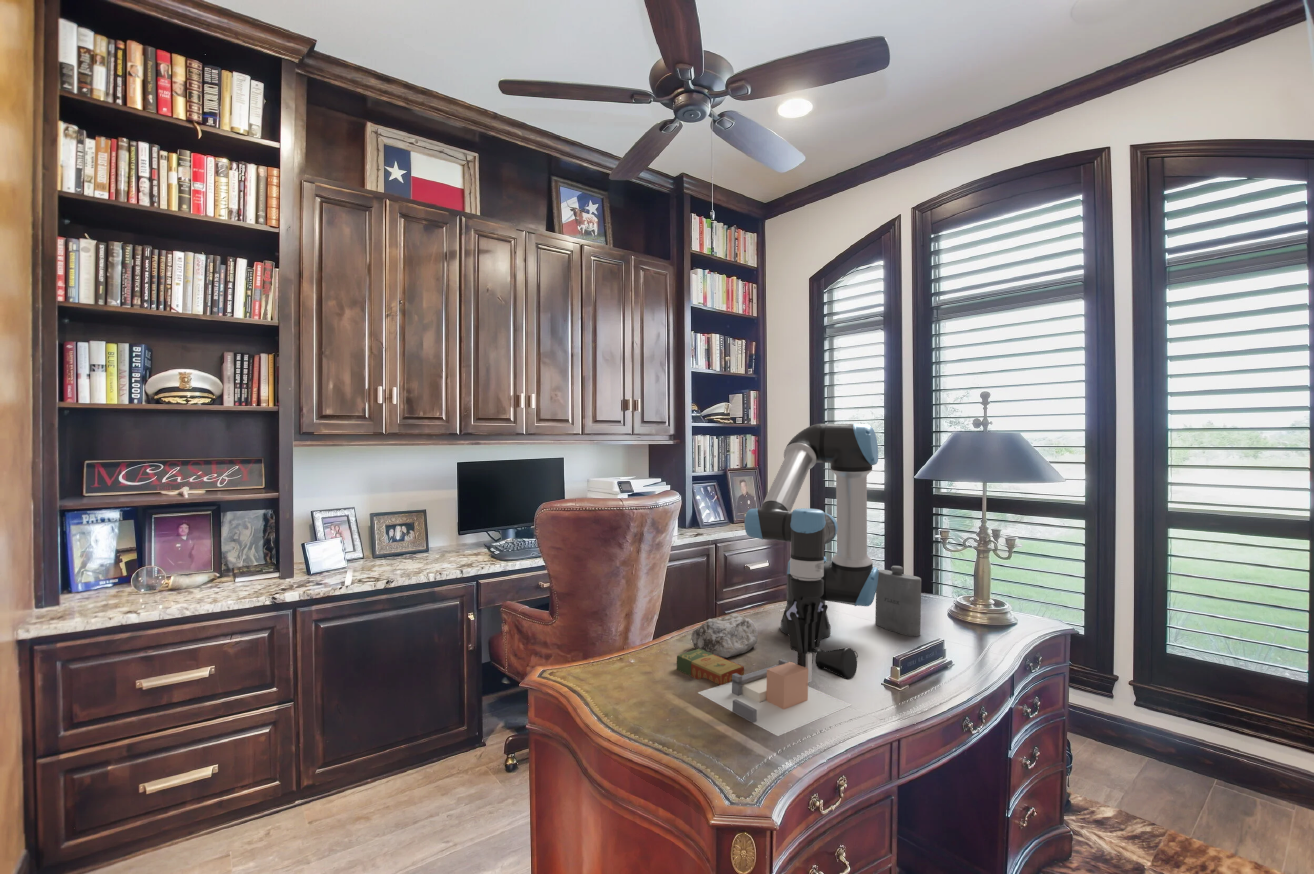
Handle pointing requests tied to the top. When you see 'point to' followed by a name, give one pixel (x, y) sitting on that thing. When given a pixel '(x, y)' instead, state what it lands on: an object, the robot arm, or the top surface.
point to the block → (787, 685)
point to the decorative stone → (725, 635)
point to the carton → (708, 666)
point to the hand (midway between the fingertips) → (804, 680)
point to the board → (751, 703)
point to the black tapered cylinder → (838, 661)
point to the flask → (898, 602)
